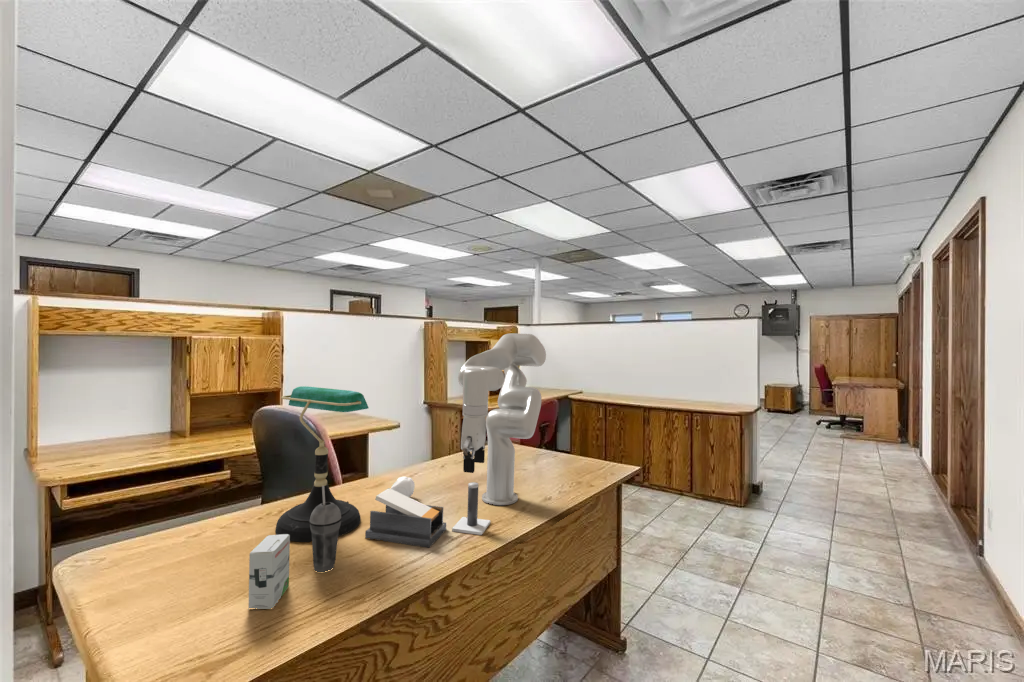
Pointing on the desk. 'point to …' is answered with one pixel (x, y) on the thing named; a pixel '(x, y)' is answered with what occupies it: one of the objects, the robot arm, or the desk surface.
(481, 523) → the mat
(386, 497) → the tilting box lid
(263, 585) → the ink box
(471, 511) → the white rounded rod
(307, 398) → the banker's lamp
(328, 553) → the beverage cup
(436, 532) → the tilting lid box
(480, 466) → the desk surface
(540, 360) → the robot arm
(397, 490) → the white lumpy ball
